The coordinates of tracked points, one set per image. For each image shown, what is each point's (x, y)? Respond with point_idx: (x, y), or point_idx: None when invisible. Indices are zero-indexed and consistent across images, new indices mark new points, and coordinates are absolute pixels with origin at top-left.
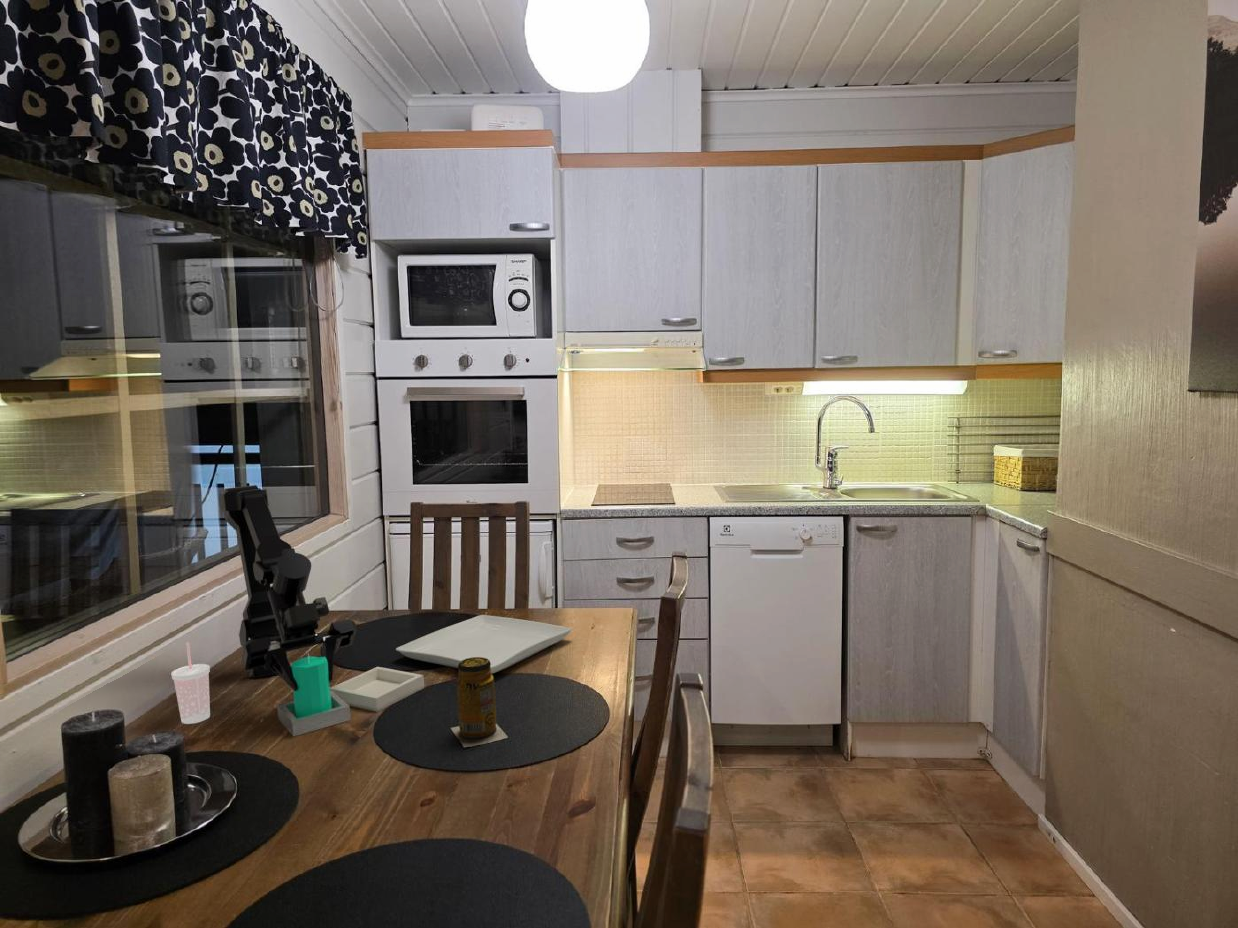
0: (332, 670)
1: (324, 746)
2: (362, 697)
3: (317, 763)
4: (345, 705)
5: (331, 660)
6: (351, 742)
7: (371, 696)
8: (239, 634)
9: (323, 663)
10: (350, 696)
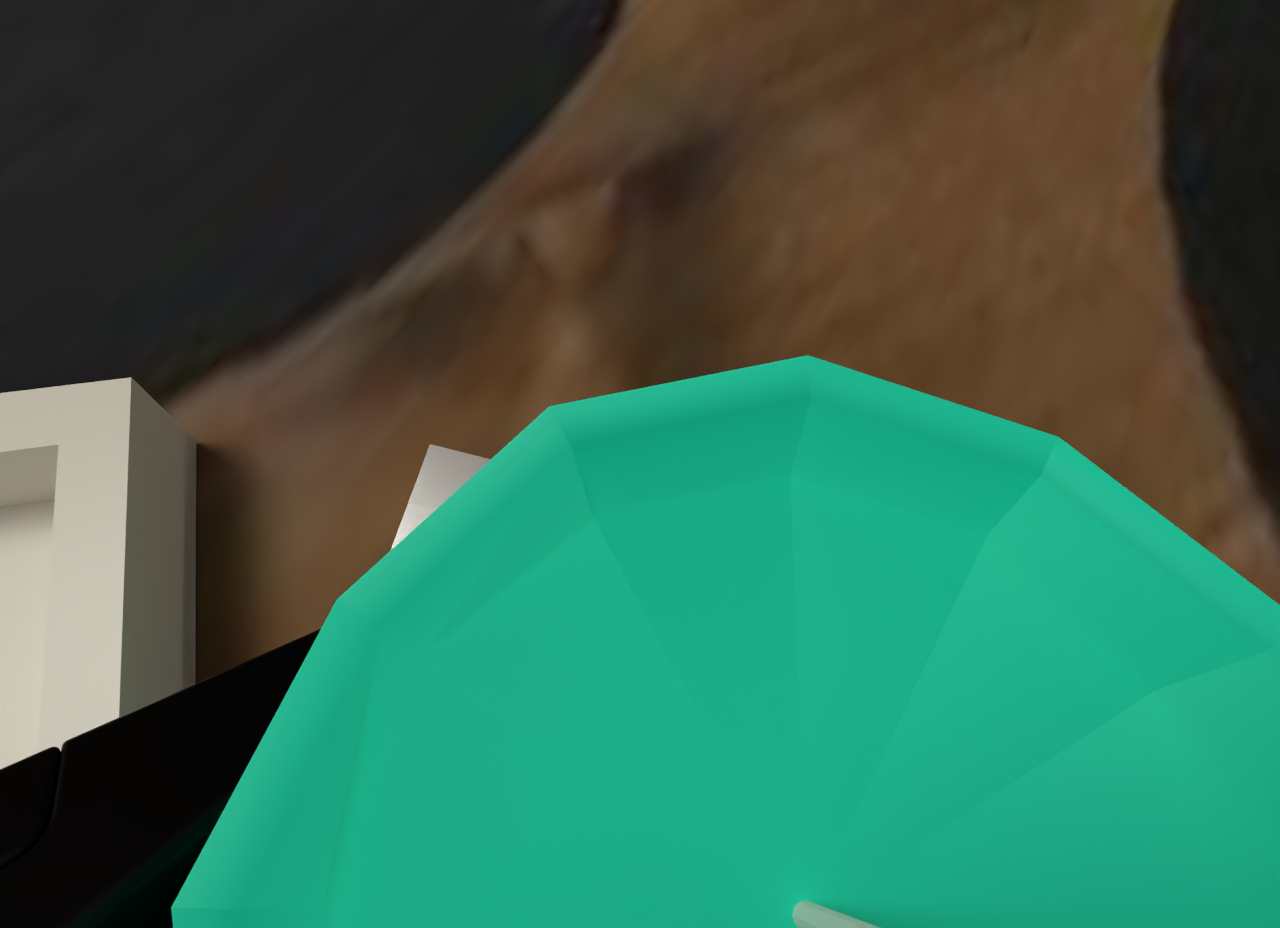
0: (313, 632)
1: (864, 262)
2: (136, 599)
3: (1003, 109)
4: (441, 499)
5: (114, 761)
6: (705, 163)
7: (105, 471)
8: None
9: (594, 411)
10: None
